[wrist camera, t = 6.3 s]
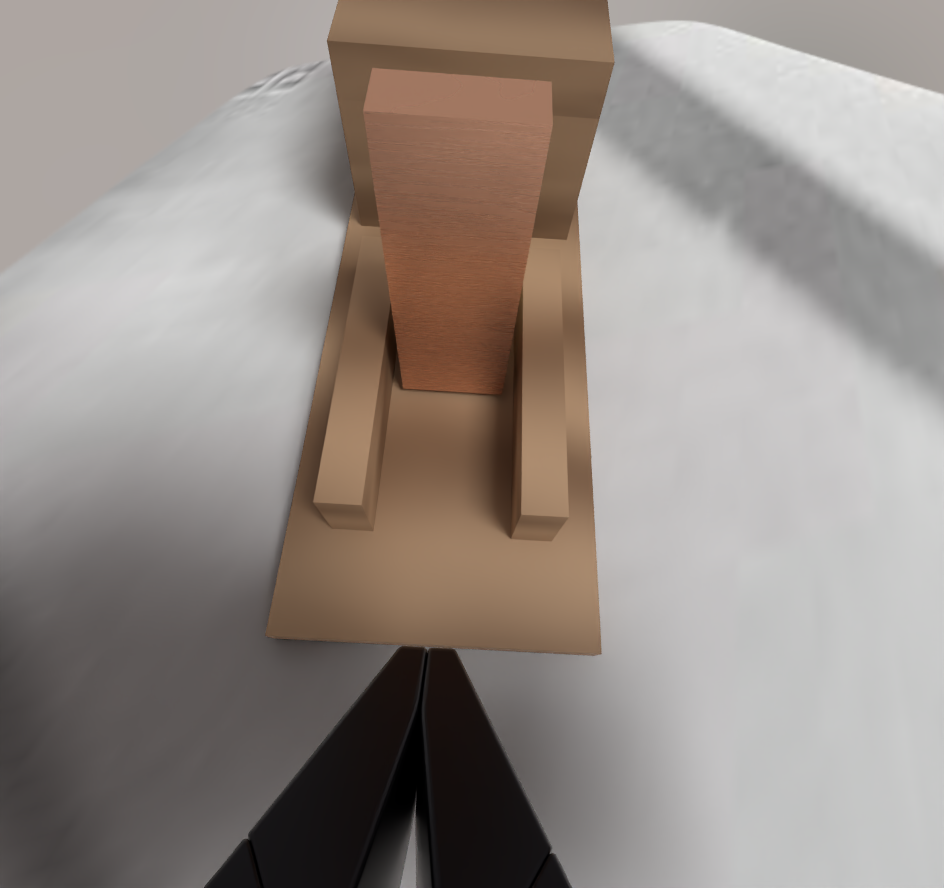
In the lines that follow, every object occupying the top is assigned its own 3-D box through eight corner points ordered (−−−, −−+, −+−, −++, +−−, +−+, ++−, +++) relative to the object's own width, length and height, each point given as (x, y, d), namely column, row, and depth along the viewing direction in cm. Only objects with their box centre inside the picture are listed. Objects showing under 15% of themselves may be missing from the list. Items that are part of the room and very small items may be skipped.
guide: (593, 655, 15) (710, 631, 8) (273, 638, 15) (135, 599, 8) (568, 127, 25) (613, -76, 18) (376, 113, 24) (351, -97, 18)
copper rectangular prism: (501, 394, 17) (553, 124, 9) (403, 388, 17) (362, 111, 9) (508, 130, 23) (544, -185, 14) (434, 124, 23) (428, -195, 14)
